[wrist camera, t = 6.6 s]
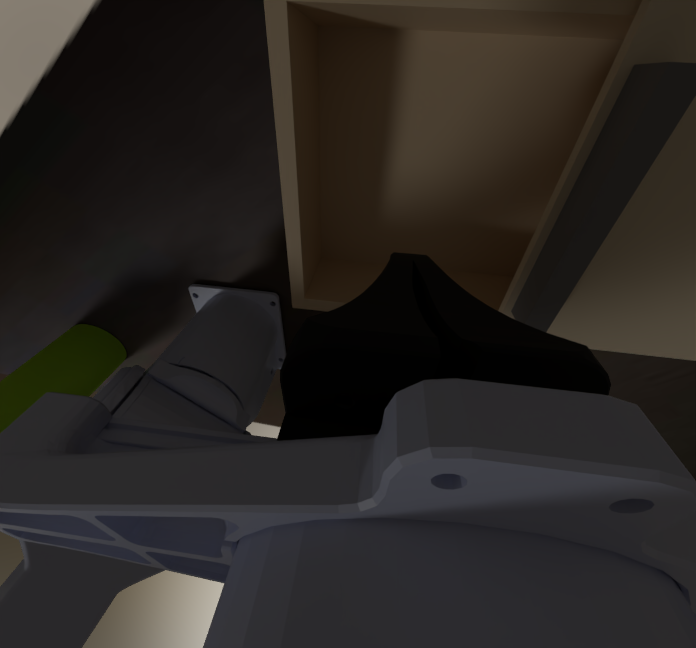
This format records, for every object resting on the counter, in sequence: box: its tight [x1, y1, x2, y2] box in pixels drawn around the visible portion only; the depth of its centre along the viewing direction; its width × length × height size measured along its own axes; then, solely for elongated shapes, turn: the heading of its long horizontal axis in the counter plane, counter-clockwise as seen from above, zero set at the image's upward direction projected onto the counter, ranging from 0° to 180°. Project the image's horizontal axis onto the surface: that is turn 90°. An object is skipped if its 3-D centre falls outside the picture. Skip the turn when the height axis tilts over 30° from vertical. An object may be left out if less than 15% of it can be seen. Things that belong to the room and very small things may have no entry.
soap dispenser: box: [0, 324, 127, 433], centre depth 25 cm, size 6×7×20 cm
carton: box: [264, 0, 642, 312], centre depth 16 cm, size 14×16×6 cm
